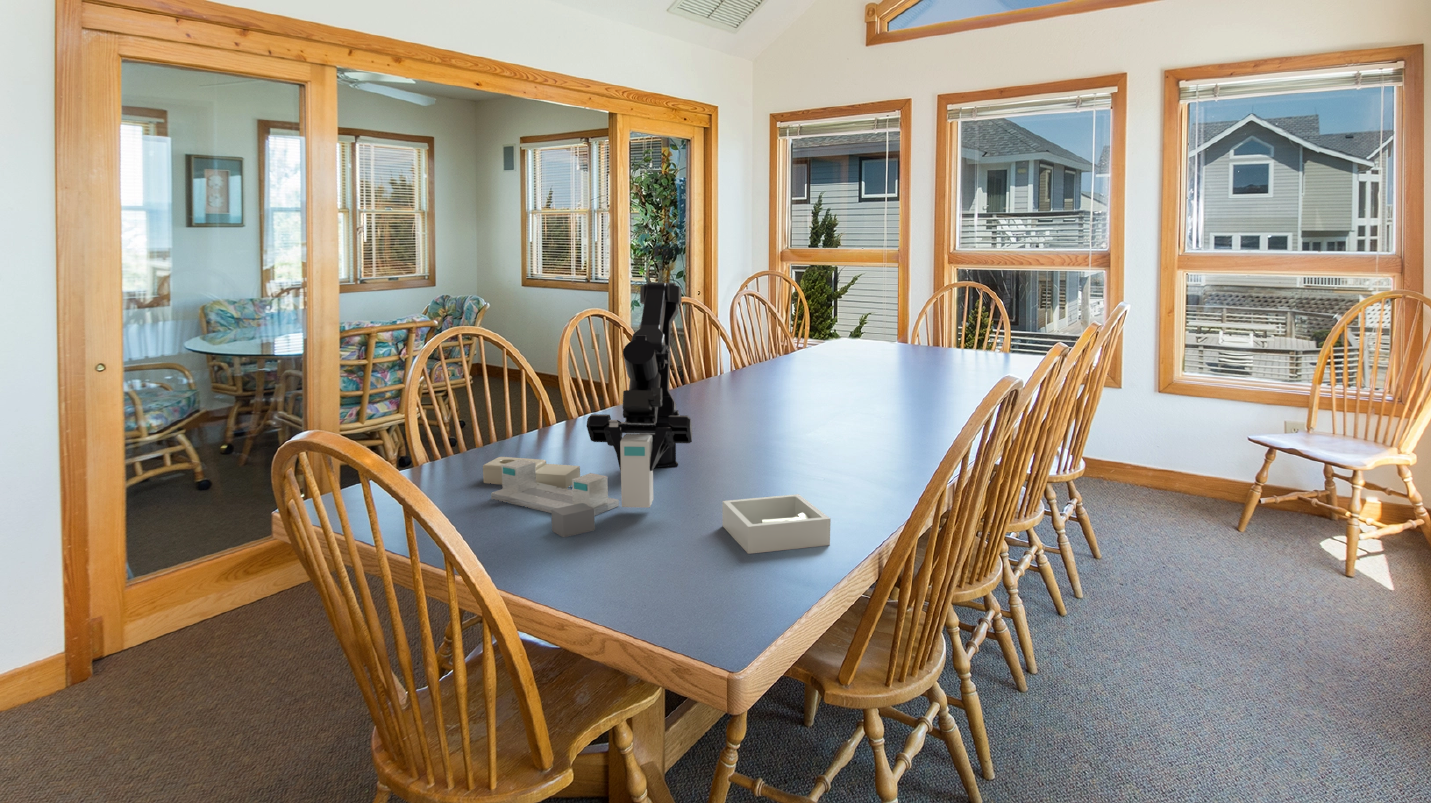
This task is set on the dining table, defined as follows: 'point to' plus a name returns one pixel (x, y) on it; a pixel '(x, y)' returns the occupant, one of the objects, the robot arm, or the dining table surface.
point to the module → (636, 470)
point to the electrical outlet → (544, 472)
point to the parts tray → (775, 523)
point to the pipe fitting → (797, 517)
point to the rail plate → (551, 490)
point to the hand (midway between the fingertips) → (635, 469)
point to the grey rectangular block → (573, 520)
